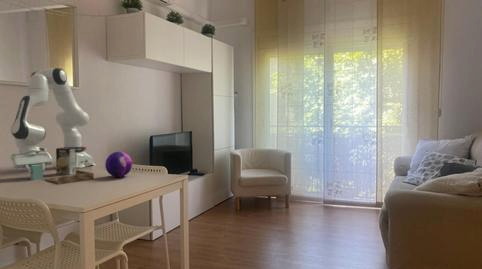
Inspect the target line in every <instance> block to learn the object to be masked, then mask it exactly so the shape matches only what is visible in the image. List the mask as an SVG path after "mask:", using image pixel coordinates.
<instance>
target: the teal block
mask: <svg viewBox="0 0 482 269" xmlns="http://www.w3.org/2000/svg"><path fill="white" fill-rule="evenodd" d="M29 168H30V169H32V170H33V172H32V173H30V180H32V181H37V180H38V181H39V180H44V171H43V165H40V164H38V165H30V167H29Z"/></svg>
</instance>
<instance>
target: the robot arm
mask: <svg viewBox="0 0 482 269" xmlns="http://www.w3.org/2000/svg"><path fill="white" fill-rule="evenodd" d="M50 87H51V89H52V92H53V96H54V99H55V101H56V103H57V106H58V107H59V108H60V109H62V110H63V111H60V112H59V111H58V113H57V114H56V115H55V121H56V124H57V125H59V127H60V129H61V131H62V133H63V134H62V136H63V148H75V169H83V168H86V167H85V165H84V163H86V162H89V163H93V165H94V166H98V165H97V163H95V162H94V158H93V156H92V155H90V154H89V153H87V152H86V151H87V150H88V148H87V146H82V143H83V142H82V138H83V137H82V135H81V133H80V132H79V130H78V129H77V128H80V127H85V126H87V125H88V124H89V122H90V115H89V114H88V113H87V112H85V111H84V110H83V109H82V108H81V107H80V105H79V104H78V103H77V101H76V98H75V96H74V94H73V91H72V88H71V85H70V84H69V81H68V76H67V72H66V71H65V70H64V69H63V68H60V67H55V68H46V69H41V70H36V71H34V72H32V73H31V75H30V77H29V81H28V87H27V93H26V94H25V95H24V96H22V98H21V100H20V102H19V105H18V109H17V112H16V114H15V120H14V122H13V124H12V126H11V127H10V128H11V129H10V132H11V135H12V137H13V138H14V142H15V144H16V147H17V148H18V152H19V153H13V154H11V155H10V160H11V162H12V165H13V168H14V169H17V170H19V169H25V170H26V171H27V172H28V173H29V174H31V173H32V172H33V170H32V169H30V165H38V164H40V165H43V172H45V171H46V169H45V166H51V165H52V163H53V162H54V161H53V157H52V155H51V154H50V153H49V152H48V151H47V148H45V147H40V146H36V145H38V144H40V143H42V142H43V141H44V140H45V138H46V136H47V135H46V134H47V133H46V129H45V128H44V127H43V126H40V125H37V124H32V123H29V122H28V121H27V120H28V116H29V113H30V109H31V108H32V107H33V108H34V107H41V106H43V105H45V104H46V103H47V102H48V100H49V92H50V91H49V90H50ZM94 166H93V167H94Z"/></svg>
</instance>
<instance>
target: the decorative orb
mask: <svg viewBox="0 0 482 269" xmlns="http://www.w3.org/2000/svg"><path fill="white" fill-rule="evenodd" d="M104 164H105V166H104V167H105V170H106V172H107V173H108V174H109V175H111V176H112V177H115V178H122V177H125V176H127V175H128V174H129V173H130V172H131V170H132V167H133V160H132V158H131V157H130V155H129V154H127V153H126V152H123V151H114V152H112V153H110V155H108V156H107V158H106V159H105V163H104Z"/></svg>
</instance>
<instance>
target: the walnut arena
mask: <svg viewBox="0 0 482 269" xmlns="http://www.w3.org/2000/svg"><path fill="white" fill-rule="evenodd" d="M94 175H95V173H94V172H90V171H85V170H81V169H80V170H79V169H75V173H74V174H71V175H60V176H52V177H46V178H44V177H43V180H44V181H46V182H49V183H53V184H57V185H62V184H70V183H77V182H83V181H84V182H85V181H90V180H94V179H95V177H94Z"/></svg>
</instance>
